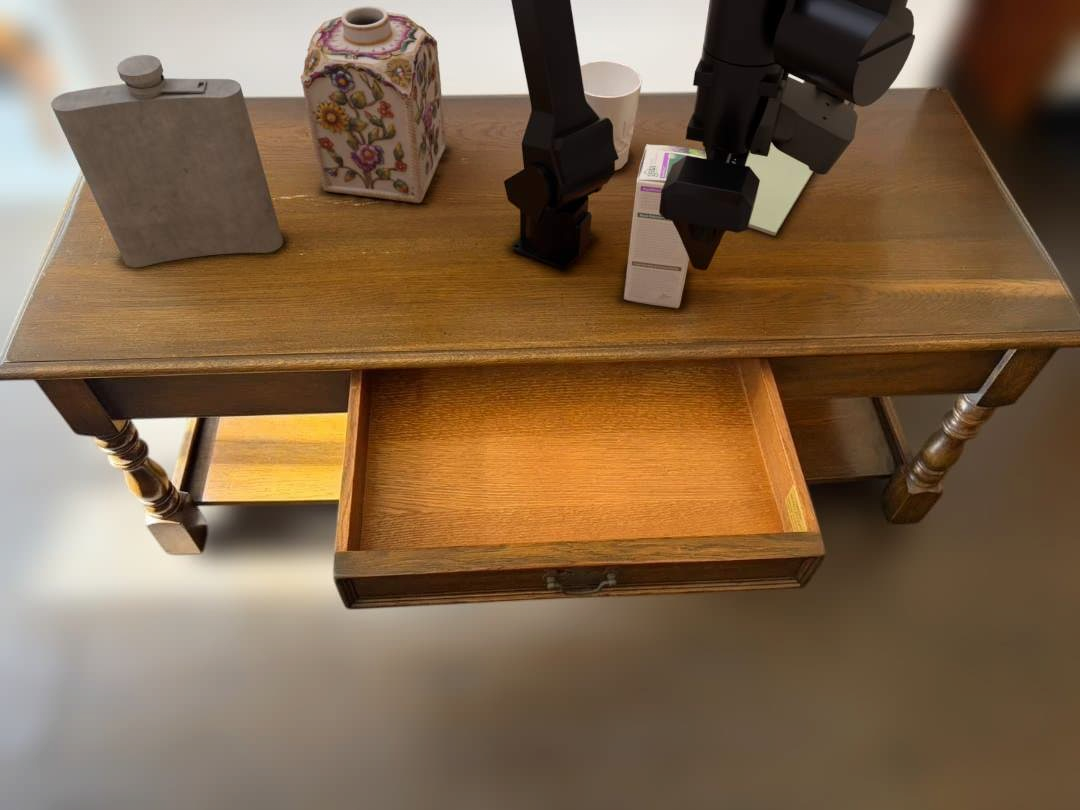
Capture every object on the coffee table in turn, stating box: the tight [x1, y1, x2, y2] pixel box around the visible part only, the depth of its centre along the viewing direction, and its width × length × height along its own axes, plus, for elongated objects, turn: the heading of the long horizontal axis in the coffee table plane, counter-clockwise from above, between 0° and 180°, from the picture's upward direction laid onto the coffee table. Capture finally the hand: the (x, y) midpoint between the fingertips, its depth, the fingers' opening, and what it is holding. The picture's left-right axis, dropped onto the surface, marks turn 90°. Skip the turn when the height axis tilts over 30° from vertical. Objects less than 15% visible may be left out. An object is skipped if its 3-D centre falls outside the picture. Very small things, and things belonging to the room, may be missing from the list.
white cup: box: [580, 59, 643, 171], centre depth 95 cm, size 8×8×10 cm
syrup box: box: [623, 143, 706, 309], centre depth 79 cm, size 6×6×14 cm
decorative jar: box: [300, 5, 446, 204], centre depth 89 cm, size 12×12×18 cm
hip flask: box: [50, 54, 284, 268], centre depth 79 cm, size 16×4×20 cm, turn 102°
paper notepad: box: [706, 142, 814, 237], centre depth 98 cm, size 12×24×1 cm, turn 151°
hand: (711, 234), depth 68 cm, fingers open, 9 cm apart
